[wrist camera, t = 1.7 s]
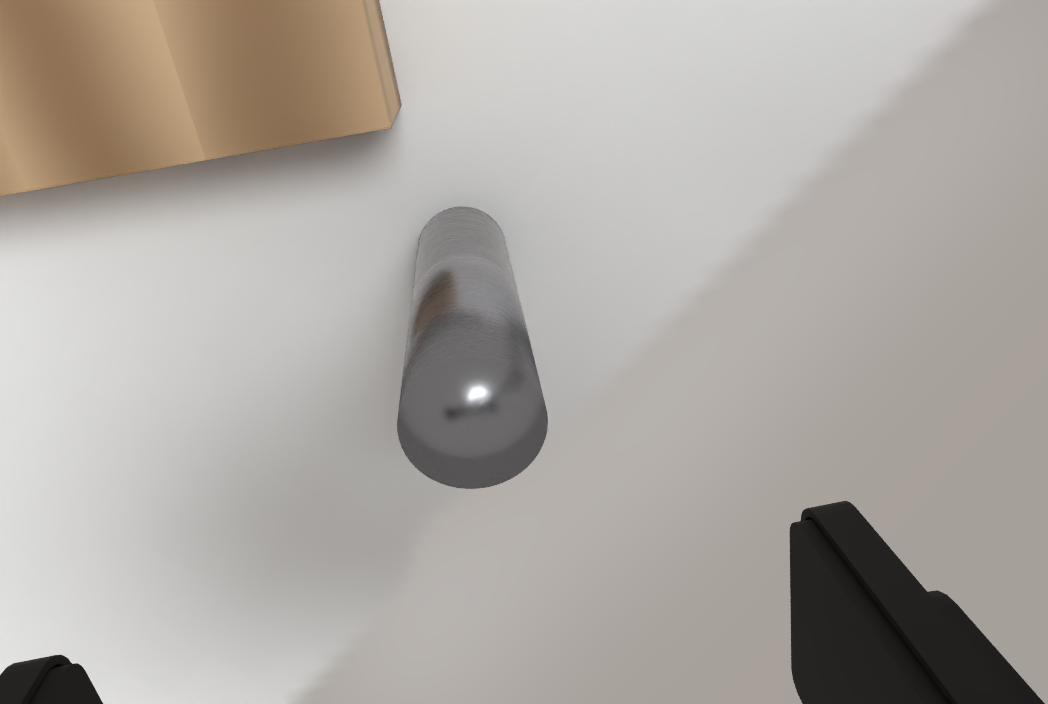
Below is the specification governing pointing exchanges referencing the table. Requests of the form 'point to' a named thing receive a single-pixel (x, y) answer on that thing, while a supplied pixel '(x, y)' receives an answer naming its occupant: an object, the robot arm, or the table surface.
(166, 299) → the table surface
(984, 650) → the robot arm
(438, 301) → the peg
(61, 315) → the table surface
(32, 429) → the table surface
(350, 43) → the hole block
